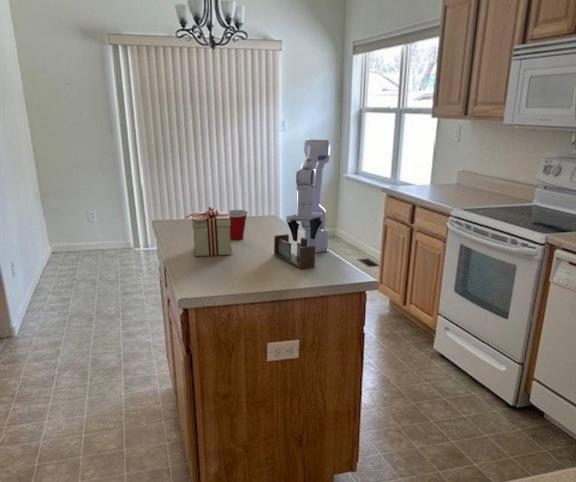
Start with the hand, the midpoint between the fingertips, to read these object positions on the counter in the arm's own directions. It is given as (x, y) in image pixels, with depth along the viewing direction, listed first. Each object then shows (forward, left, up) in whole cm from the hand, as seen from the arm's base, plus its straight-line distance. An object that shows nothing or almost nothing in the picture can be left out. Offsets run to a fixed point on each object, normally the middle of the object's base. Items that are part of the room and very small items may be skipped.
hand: (303, 239), depth 200 cm
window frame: (+1, -5, -9) cm, 11 cm away
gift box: (+26, -31, -10) cm, 42 cm away
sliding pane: (0, 0, -8) cm, 8 cm away
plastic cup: (+7, -48, -10) cm, 49 cm away
